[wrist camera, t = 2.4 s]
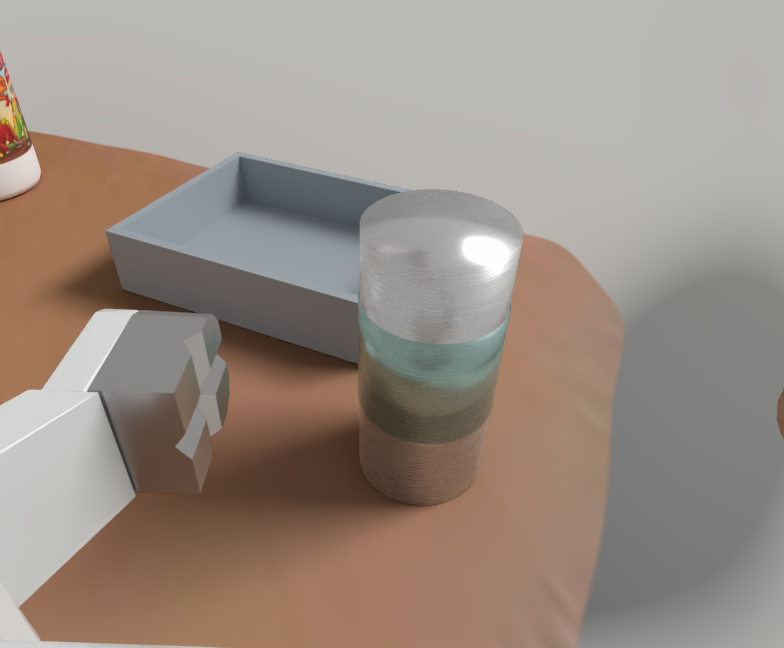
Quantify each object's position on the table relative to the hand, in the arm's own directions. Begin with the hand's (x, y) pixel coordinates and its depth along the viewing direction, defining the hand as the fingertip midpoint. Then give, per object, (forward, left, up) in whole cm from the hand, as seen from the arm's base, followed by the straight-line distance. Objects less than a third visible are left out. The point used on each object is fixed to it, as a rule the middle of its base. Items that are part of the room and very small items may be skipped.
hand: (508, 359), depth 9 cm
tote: (-18, +22, -16) cm, 33 cm away
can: (-5, +11, -17) cm, 21 cm away
